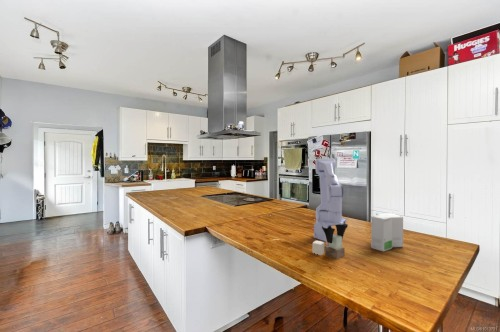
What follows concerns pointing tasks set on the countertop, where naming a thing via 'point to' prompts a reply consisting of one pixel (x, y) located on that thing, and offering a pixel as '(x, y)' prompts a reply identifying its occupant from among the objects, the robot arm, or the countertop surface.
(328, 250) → the walnut block
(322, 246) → the cream block
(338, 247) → the sage block
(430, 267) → the countertop surface
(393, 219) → the supplement box
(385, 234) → the skincare box
